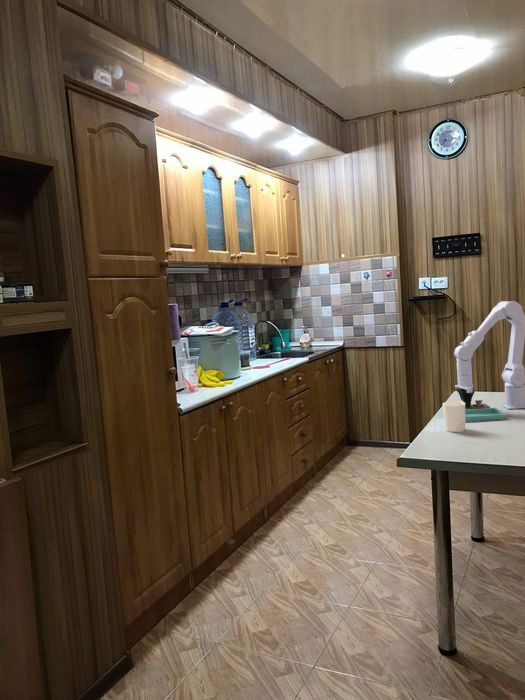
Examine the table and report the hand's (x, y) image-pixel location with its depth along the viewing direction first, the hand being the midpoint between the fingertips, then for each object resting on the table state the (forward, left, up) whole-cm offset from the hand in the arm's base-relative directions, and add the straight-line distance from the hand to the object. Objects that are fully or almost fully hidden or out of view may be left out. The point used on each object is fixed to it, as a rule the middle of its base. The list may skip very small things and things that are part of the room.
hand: (466, 406), depth 229 cm
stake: (-5, 0, -2) cm, 5 cm away
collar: (-4, 0, -2) cm, 4 cm away
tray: (-2, +12, -2) cm, 12 cm away
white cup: (+11, +28, -2) cm, 30 cm away
